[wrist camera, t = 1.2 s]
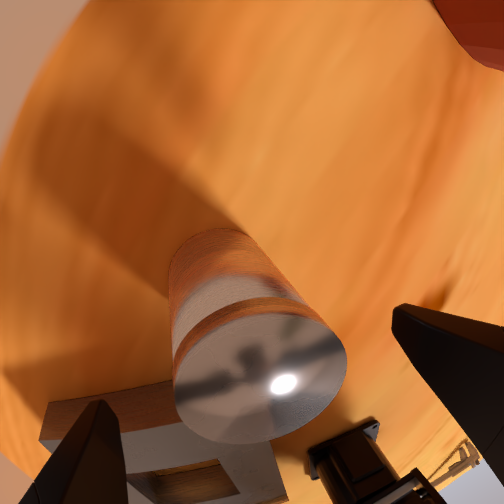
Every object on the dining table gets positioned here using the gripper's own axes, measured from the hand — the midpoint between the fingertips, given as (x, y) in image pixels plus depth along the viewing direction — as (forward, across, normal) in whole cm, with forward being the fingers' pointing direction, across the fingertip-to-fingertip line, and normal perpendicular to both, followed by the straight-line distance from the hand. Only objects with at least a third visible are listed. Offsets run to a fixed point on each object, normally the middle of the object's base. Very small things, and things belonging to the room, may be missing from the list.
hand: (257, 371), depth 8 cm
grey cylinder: (+6, 0, 0) cm, 6 cm away
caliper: (+7, -30, +58) cm, 66 cm away
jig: (+6, +6, +12) cm, 15 cm away
